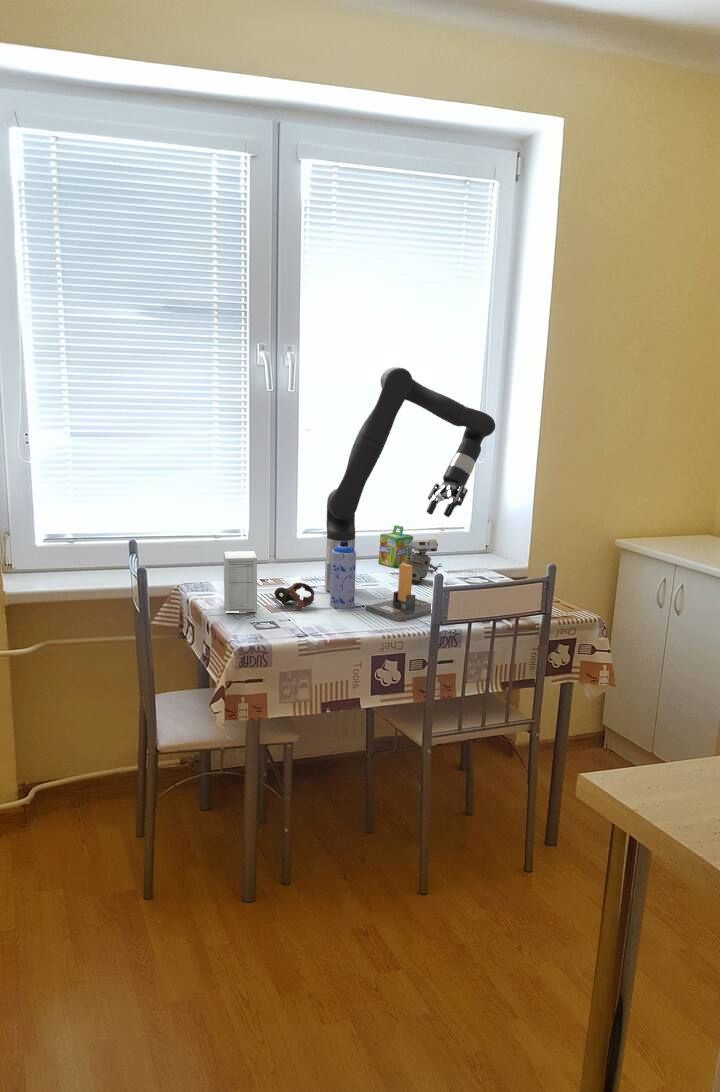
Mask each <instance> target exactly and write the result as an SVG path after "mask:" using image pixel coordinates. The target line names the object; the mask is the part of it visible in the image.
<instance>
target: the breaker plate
mask: <svg viewBox="0 0 720 1092" xmlns="http://www.w3.org/2000/svg"><path fill="white" fill-rule="evenodd" d="M416 596H417V595H416V594H413V593H412V594H411V595H408V596H406V605H405V604H402V603H399V602H398V601H397V599H398V590H397V591H393V597H392V600H386V601H381V602H377V603H372V604H367V605H366V607H365V610H366V611H367V612H370V613H372V614H376V615H377V616H381V617H384V618H387V619H390V620H392V619H393V621H395V620H396V621H395V622H398V621H400V622H403V620H404V621H407V620H412V619H416V618H420V617H424V616H430V615H431V614H430V613H431V604H432V603H430V602H427V601H423V600H420V599H418V598H417V597H416Z"/></svg>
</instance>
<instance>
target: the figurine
mask: <svg viewBox="0 0 720 1092" xmlns="http://www.w3.org/2000/svg"><path fill="white" fill-rule="evenodd" d="M438 546H439V544H438V541H437V539H435V538H434V539H413V540H410V541H409V542H408V547H409V548H412V554H410V555H408V558H407V563H406V564H409V565H413V566H412V583H413V584H415V585H418V584H419V585H420V584H421V583H422V582H421V579H420V578H424V579H425V578H426V577H427V576H428V574H429V573H430V574H433V573H434V572H435V573H436V574H438V571H437V570H439V568H443V567H442V565H441V563H439V564H438V565H437V566H435V565H434V564H432V563H431V560H432V557H430V556H429V555H428V554H427V552H437V551H438Z"/></svg>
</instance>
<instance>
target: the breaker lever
mask: <svg viewBox="0 0 720 1092" xmlns="http://www.w3.org/2000/svg"><path fill="white" fill-rule="evenodd" d="M412 566H413V565H409V564H405V563H403V564H400V565H399V567H398V569H399V570H398V587H397V588H398V589H397V591H398V599H397V601H398V602H399V603H402V604H405V605H406V596H408V595H412V585H413V584H412Z"/></svg>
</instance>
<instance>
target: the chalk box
mask: <svg viewBox="0 0 720 1092" xmlns="http://www.w3.org/2000/svg"><path fill="white" fill-rule="evenodd" d="M398 529H399V532H398V531H397V530H398ZM410 540H414V536H413V535H411V534H407V533H404V526H401V525H396V524H395V525H393V530H392V532H387V533H386V532H385V533H380V539H379V550H378V551H379V552H378V564H380V565H384V566H386V567H390V568H393V569H397V568H398V569H399V565H400V564H403V563H405V564H406V563H407V558H408V555H410V554H412V552H413V548H409V547H408V542H409V541H410Z"/></svg>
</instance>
